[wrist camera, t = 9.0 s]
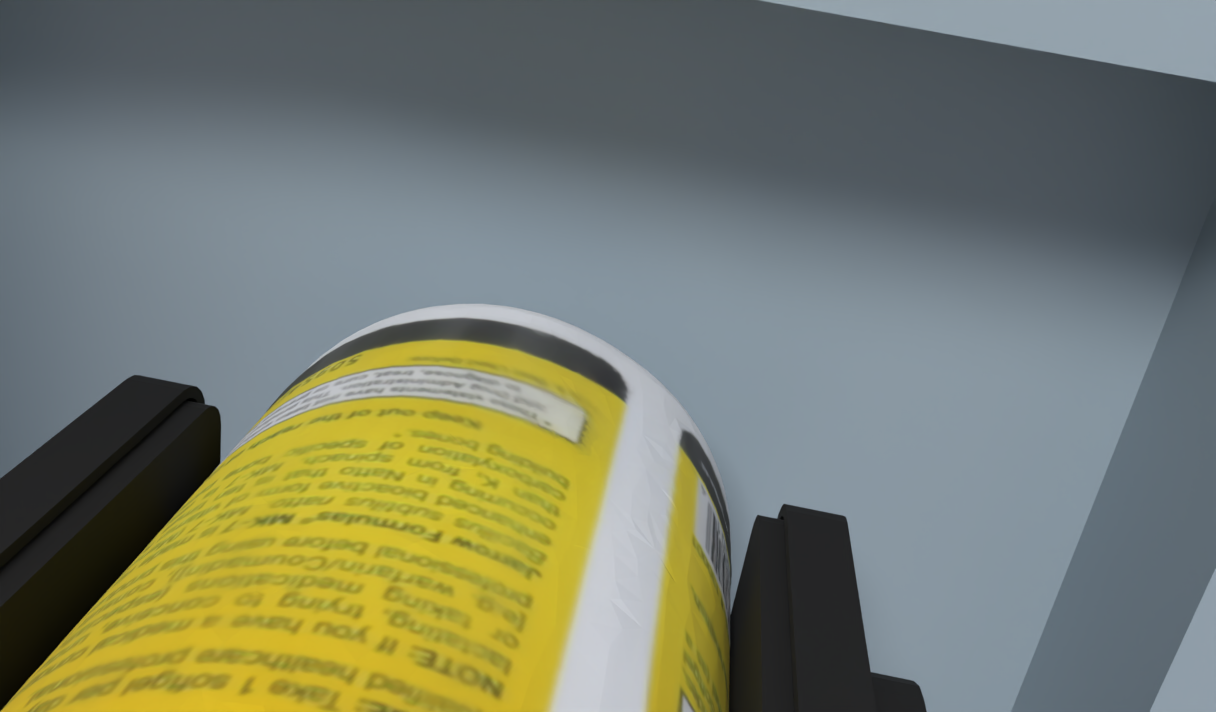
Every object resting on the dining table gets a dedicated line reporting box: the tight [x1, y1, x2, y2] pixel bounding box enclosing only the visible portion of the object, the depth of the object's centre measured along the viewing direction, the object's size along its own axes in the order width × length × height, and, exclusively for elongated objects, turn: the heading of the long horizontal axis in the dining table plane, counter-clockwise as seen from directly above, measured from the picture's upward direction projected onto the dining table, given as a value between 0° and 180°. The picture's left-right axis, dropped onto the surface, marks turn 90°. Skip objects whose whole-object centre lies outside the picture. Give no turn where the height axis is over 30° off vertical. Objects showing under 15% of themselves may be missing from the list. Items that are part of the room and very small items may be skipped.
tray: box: [0, 0, 1216, 712], centre depth 11 cm, size 15×13×3 cm
